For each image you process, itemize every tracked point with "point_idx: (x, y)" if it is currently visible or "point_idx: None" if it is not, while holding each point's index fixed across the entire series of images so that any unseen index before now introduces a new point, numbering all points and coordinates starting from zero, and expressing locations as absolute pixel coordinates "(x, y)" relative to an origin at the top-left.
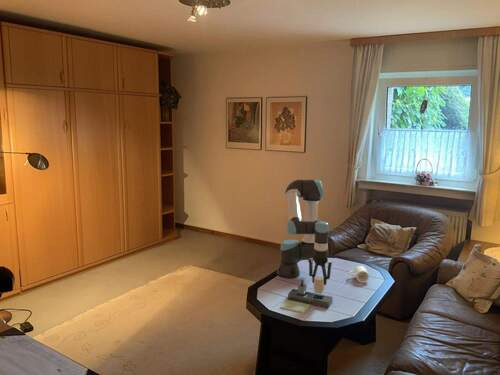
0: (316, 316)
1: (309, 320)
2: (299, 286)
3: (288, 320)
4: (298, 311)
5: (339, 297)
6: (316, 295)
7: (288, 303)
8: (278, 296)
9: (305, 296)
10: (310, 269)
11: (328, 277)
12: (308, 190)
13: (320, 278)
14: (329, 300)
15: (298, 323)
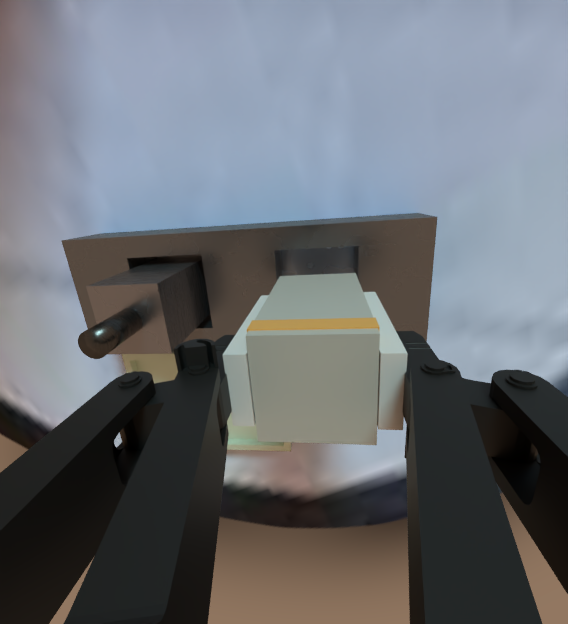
0: None
1: (341, 485)
2: (123, 353)
3: (249, 517)
4: (255, 446)
5: (461, 33)
6: (284, 249)
7: (155, 377)
8: (46, 305)
9: (219, 330)
10: (67, 562)
11: (528, 478)
12: None
13: (329, 387)
14: (424, 307)
15: (303, 524)
